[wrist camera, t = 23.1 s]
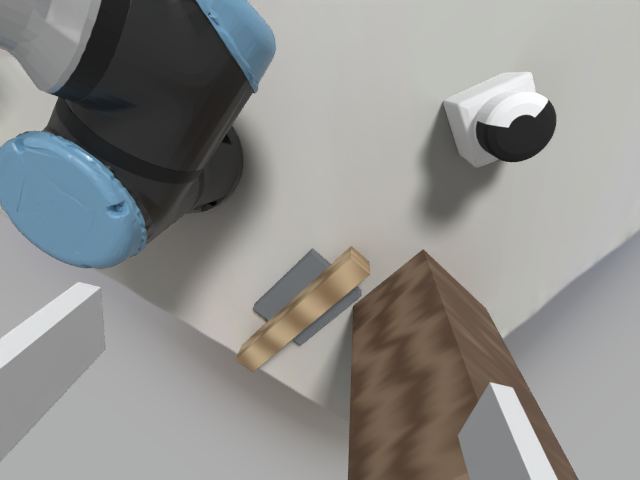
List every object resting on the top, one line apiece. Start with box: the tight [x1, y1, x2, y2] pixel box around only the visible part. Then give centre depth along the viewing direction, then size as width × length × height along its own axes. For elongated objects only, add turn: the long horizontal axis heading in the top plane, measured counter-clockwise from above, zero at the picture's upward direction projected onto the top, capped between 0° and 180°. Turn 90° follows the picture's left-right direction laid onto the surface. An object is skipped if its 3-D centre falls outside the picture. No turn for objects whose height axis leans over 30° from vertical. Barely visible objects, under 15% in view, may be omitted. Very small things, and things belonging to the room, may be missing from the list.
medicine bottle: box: [443, 72, 556, 168], centre depth 36 cm, size 7×7×12 cm
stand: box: [348, 250, 578, 480], centre depth 40 cm, size 14×14×30 cm
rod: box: [236, 246, 370, 372], centre depth 52 cm, size 26×4×4 cm, turn 138°
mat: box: [253, 249, 361, 345], centre depth 54 cm, size 14×10×2 cm
